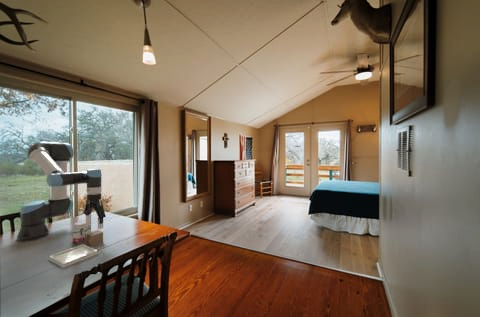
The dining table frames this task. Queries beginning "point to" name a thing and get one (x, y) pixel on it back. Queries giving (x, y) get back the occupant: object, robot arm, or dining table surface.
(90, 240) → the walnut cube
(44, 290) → the dining table surface
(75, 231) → the ink box
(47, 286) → the dining table surface
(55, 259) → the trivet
